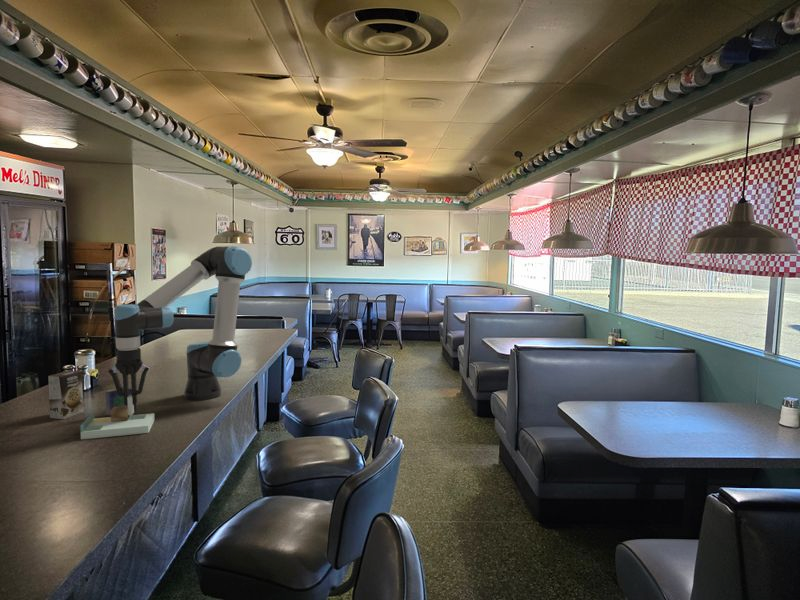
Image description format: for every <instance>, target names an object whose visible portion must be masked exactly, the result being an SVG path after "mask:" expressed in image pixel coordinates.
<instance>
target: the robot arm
mask: <svg viewBox="0 0 800 600" xmlns="http://www.w3.org/2000/svg"><path fill="white" fill-rule="evenodd" d="M252 264H253V261H252V257H251V255H250V253H249V252H248V250H247V249H245V248H244V247H242V246H236V245H227V246H226V245H225V246H215V247H212V248H209V249H207V250H206V251H204V252H202V254H200V255H199V256H197V257H196V258H194V259H193V260H192V261H190V265H189V266H188V267H186V268H185V269H183V270H182V271H181V272H179V273H178V274H176V275H175V276H174V277H172V278H171V279H170V280H169V281H167V282H166V283H164V284H163V285H162V286H160V287H159V288H158V289H156V290H155V291H153V292H152V293H151V294H149V295H147V296H146V297H145V298H144V299H142V300H141V301H139V302H138V303H136V304H119V305H116V307H115V308H114V326H115V327H114V328H115V347H116V349H117V350H116V351H115V352H116V353H115V354H116V355H115V356H116V363H115V366H113V367H112V368H109V370H108V373H109V375H110V376H111V377H112V381H113V384H114V386H115V387H114V388H115V389H116V390H117V393H118V395H119V396H120V395H121V396H124V405H128V415H134V405H136V406H137V403H138V395H141V394H142V392H143V389H144V385H145V381H146V377H147V373H148V371H149V370H150V366H149V365H145V364H144V363H143V360H142V352H141V348H140V347H141V331H145V330H146V331H147V330H154V329H155V330H156V329H158V330H159V329H164V328H170V327H171V326H172V325H173V323H174V319H175V318H174V316H175V315H174V312H173V311H172V309H171V308H169V307H168V306H169V305H171V304H173V303H174V302H175V301H177V300H178V299H179V298H181V296H183V295H185V294H186V293H187V292H188V291H190V290H191V289H192V288H194V287H195V286H196V285H197V284H200V282H201V281H203V280H204V281H205V280H208V279H210V277H212V276H214V278H215V279H216V280H217V282H218V283H217V284H218V285H217V293H216V303H215V312H214V321H213V331H212V339H210V341H205V342H204V341H203V342H197V343H191V344H188V345H187V347H186V364H187V368H186V371H187V381H186V384H185V386H184V389H183V398H184V399H185V400H189V401H202V400H204V401H205V400H210V399H215V398H217V397H220V396H221V395H222V387H221V384H220V382H219V381H220V380H218V379H219V378H229V377H232V376H234V375H235V374H236V373H237V372H238V371H239V370H240V368H241V364H242V355H241V354H240V352H238V343H236V341H235V338H236V337H235V336H236V328H237V327H236V326H237V317H238V308H239V299H240V291H241V290H240V289H241V285H242V283H243V282H245V278H246V274H248V273H249V272H251V268H252V266H253V265H252ZM140 369H141V372H142V373H141V376H140V379H139V384H138V385H137V373H138V372H139V370H140ZM117 372H119V373H120V374H121V375H122V386H123V390H122V387H121V381H120V379H119V375H118V373H117ZM129 375H130V381H131V382H130V384H131V386H130V385H129ZM129 386H130V387H132V395H129ZM137 386H138V388H137Z"/></svg>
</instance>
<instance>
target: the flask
mask: <svg viewBox="0 0 800 600" xmlns="http://www.w3.org/2000/svg"><path fill="white" fill-rule="evenodd" d="M120 384H121V387H122V390H123V382H122V383H121V382H120ZM128 386H129V395H132V386H130V385H128ZM105 403H106V416H107V417H111V410H112V408H113V407H118V406H128V405H124V396H121V395H120V396H119V395H118V393H117V390H116V388H115V389H108V390H106V391H105ZM134 413H137V404H136V405H134ZM134 413H133V414H134Z"/></svg>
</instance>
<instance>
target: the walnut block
mask: <svg viewBox="0 0 800 600" xmlns="http://www.w3.org/2000/svg"><path fill="white" fill-rule="evenodd" d="M110 417H111V422H120V421H127V420H128V419H129V417H130V415H128V406H118V407H113V408H112V410H111V416H110Z"/></svg>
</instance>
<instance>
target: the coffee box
mask: <svg viewBox="0 0 800 600" xmlns="http://www.w3.org/2000/svg"><path fill="white" fill-rule="evenodd" d="M82 372H83V371H80V370H67V371H62V372H59V373H55V374H50V375H48V380H47V381H48V400H49V401H48V402H49V418H50V419H58V420H65V419H68V418H71V417H73V416H77V415H79V414H81V413H84V394H83V393H84V392H83V373H82Z"/></svg>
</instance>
